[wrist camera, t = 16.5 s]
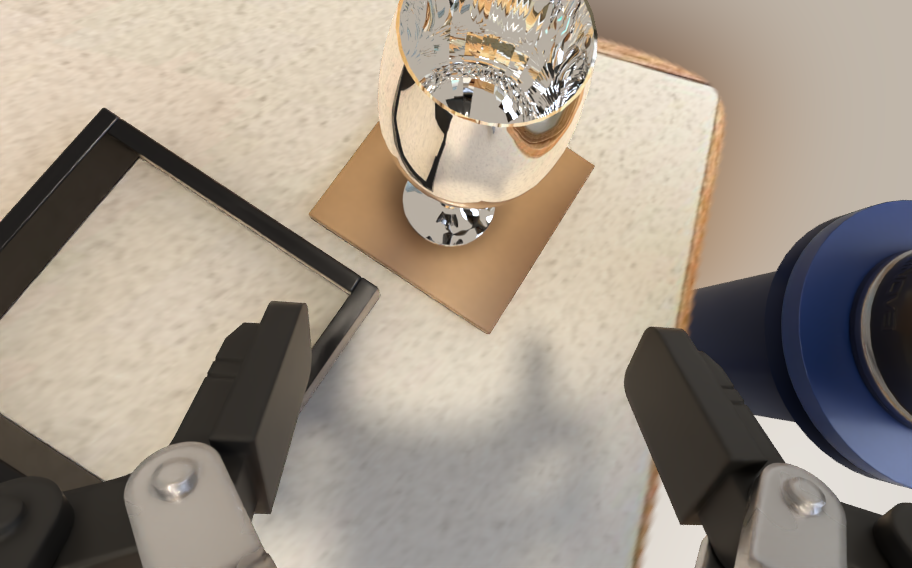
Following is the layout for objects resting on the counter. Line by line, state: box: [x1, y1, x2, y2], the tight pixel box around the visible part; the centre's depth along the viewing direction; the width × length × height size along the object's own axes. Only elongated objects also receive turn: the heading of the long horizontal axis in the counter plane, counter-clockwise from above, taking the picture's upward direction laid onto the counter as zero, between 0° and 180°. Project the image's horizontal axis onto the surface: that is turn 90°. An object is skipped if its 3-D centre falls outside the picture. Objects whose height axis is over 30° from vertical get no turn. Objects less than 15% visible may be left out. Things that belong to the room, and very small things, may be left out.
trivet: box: [309, 121, 594, 334], centre depth 23 cm, size 10×10×1 cm
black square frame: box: [0, 108, 380, 492], centre depth 19 cm, size 14×14×2 cm
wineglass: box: [377, 0, 597, 247], centre depth 17 cm, size 6×6×12 cm
